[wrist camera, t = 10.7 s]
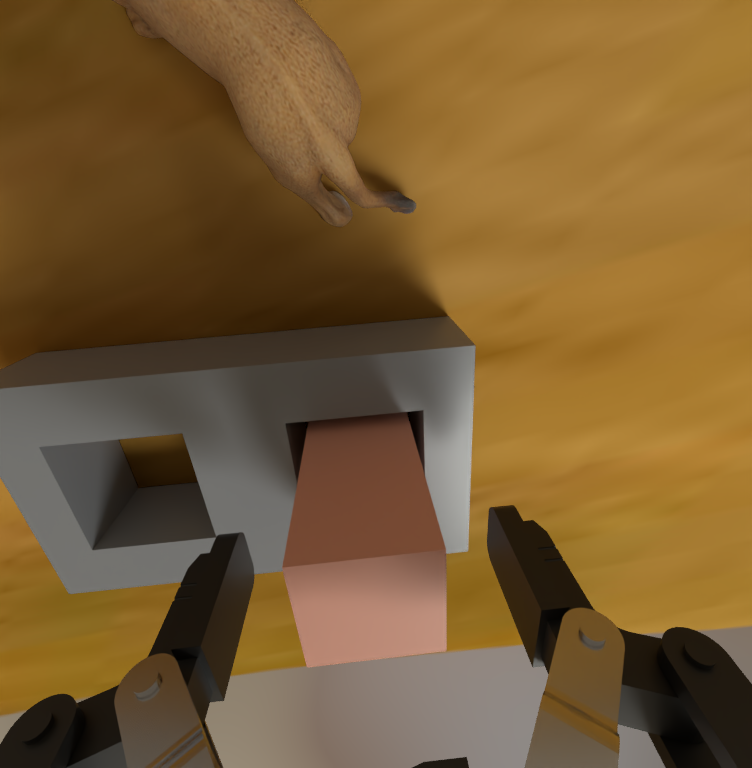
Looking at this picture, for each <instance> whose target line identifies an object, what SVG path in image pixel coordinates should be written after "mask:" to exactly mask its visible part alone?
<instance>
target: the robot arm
mask: <svg viewBox="0 0 752 768" xmlns="http://www.w3.org/2000/svg"><path fill="white" fill-rule="evenodd" d="M487 547H488V553H489V557H490V561H491V563H492V566H493V568H494V571H495V573H496V576H497V579H498V581H499V584H500V586H501V589H502V591H503V594H504V596H505V599H506V601H507V604H508V606H509V609H510V611H511V614H512V617H513V619H514V622H515V624H516V627H517V629H518V632H519V634H520V637H521V639H522V642H523V644H524V647H525V649H526V652H527V654H528V657H529V659H530V662H531V664H532V667H541V666H545V667H546V670H547V672H548V674H549V675H548V679H547V684H546V687H545V691H544V693H543V696H542V700H541V703H540V707H539V712H538V716H537V720H536V724H535V728H534V732H533V736H532V740H531V744H530V748H529V752H528V756H527V760H526V764H525V768H618V758H619V745H620V743H619V742H620V739H619V734H618V733H617V726H618V724H620V725H623V726H627V727H631V728H634V729H639V730H642V731H646V732H648V734H649V736H650V738H651V740H652V742H653V743H654V746H655V748H656V750H657V752H658V754H659V756H660V757H661V759H662V761H663V763H664V765H665V767H666V768H752V684H751V683H750V682H749V680H748V679H747V678H746V676H745V675H744V674H743V673H742V671H741V670H740V669H739V667H738V666H737V665H736V664H735V662H734V661H733V660H732V658H731V657H730V656H729V655H728V654H727V652H726V651H725V650H724V649H723V648H722V647H721V646H720V645H719V644H717V643H716V642H715V641H713V640H712V639H711V638H709V637H707V636H706V635H704V634H701V633H700V632H698V631H695V630H692V629H689V628H684V627H675V628H671V629H668V630H667V631H666V632H665V633H664V634H663V637H662V639H661V638H655V637H651V636H646V635H641V634H636V633H632V632H628V631H625V630H622V629H620V628H618V627H616V625H615V624H614V623H613V622H612V621H611V620H609V619H608V618H607V617H606V616H604V615H602V614H601V613H599V612H597V611H595V610H594V609H593V607H592V606H591V604H590V602H589V601H588V599H587V598H586V596H585V594H584V593H583V591H582V589H581V588H580V586H579V584H578V583H577V581H576V579H575V578H574V576H573V574H572V573H571V571H570V569H569V568H568V566H567V564H566V563H565V561H563V559H562V556H561V554H560V553H559V551H558V549H556V547H555V544H554V543H553V541H552V539H551V538H550V536H549V535H548V533H547V532H546V531H545V530H544V529H543V528H542V527H541V526H539V525H538V524H537V523H536V522H535V521H533V520H530V521H523V520H522V518H521V516H520V515H519V513H518V511H517V509H516V508H515V506H513V505H510V506H500V507H491V508H490V509H489V518H488V535H487ZM253 584H254V566H253V562H252V559H251V555H250V552H249V548H248V545H247V542H246V538H245V535H244V533H243V532H239V533H229V534H219V535H218V536H217V537H216V539H215V541H214V543H213V546H212V548H211V551H210V553H203V554H200V555H199V556H198V557H197V558H196V560H195V561H194V562H193V563H192V564H191V565H190V566H189V568H188V569H187V571H186V573H185V576H184V578H183V580H182V582H181V587H180V588H179V589H178V591H177V593H176V596H175V600H174V601H173V602H172V605H171V607H170V609H169V611H168V614H167V616H166V618H165V620H164V623H163V625H162V627H161V629H160V631H159V634H158V636H157V638H156V640H155V643H154V645H153V647H152V649H151V651H150V653H149V655H148V657H147V658H145V659H144V660H142V661H140V662H139V663H138V664H136V665H135V666H134V667H133V668H132V669H131V670H130V671H129V672H128V673H127V674H126V675H125V677H124V678H123V679H122V681H121V683H120V684H119V685H117V686H116V687H113V688H111V689H109V690H107V691H105V692H102V693H100V694H98V695H95V696H93V697H91V698H88V699H86V700H84V701H81V702H79V703H76V701H75V700H74V698H72V697H71V696H70V695H67V694H57V695H53V696H50V697H48V698H46V699H44V700H42V701H40V702H38V703H37V704H35V705H34V706H32V707H31V708H30V709H29V710H27V711H26V712H25V713H24V714H23V715H22V716H21V717H20V718H19V719H18V720H17V721H16V722H15V723H14V725H13V726H12V727H11V728H10V730H9V731H8V733H7V734H6V736H5V738H4V739H3V741H2V742H1V744H0V768H223V765H222V763H221V760H220V758H219V755H218V752H217V750H216V747H215V745H214V742H213V740H212V737H211V734H210V732H209V729H208V726H207V724H206V721H205V718H206V714H207V710H208V707H209V703H210V702H216V701H224V698H225V694H226V690H227V686H228V682H229V679H230V675H231V671H232V667H233V663H234V659H235V655H236V651H237V647H238V643H239V639H240V635H241V632H242V628H243V624H244V620H245V616H246V612H247V608H248V604H249V600H250V596H251V592H252V588H253ZM413 768H469V766H468V761H467V757H463V758H456V759H447V760H438V761H429V762H423V763H421V764H419V765H417V766H415V767H413Z"/></svg>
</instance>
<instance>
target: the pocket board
mask: <svg viewBox="0 0 752 768" xmlns="http://www.w3.org/2000/svg"><path fill="white" fill-rule="evenodd" d="M474 370H475V344H474V343H473V342H472V341H471V340H470V339H469V338H468V337H467V336H466V335H465V333H464V332H463V331H462V330H461V329H460V328H459V327H458V326H457V325H456V324H455V323H454V321H453V320H452V319H451V318H450V317H449V316H446V317H435V318H423V319H412V320H401V321H390V322H378V323H367V324H356V325H345V326H333V327H322V328H311V329H300V330H288V331H277V332H266V333H255V334H243V335H232V336H221V337H209V338H198V339H187V340H176V341H164V342H153V343H142V344H131V345H119V346H108V347H97V348H86V349H74V350H63V351H52V352H41V353H35V354H33V355H31V356H29V357H27V358H24V359H22V360H20V361H18V362H16V363H14V364H12V365H10V366H7V367H5V368H3V369H1V370H0V477H1V479H2V481H3V483H4V484H5V486H6V488H7V489H8V491H9V493H10V494H11V496H12V498H13V499H14V501H15V503H16V505H17V506H18V508H19V510H20V511H21V513H22V515H23V516H24V518H25V520H26V522H27V523H28V525H29V527H30V528H31V530H32V532H33V533H34V535H35V537H36V539H37V540H38V542H39V544H40V545H41V547H42V549H43V550H44V552H45V554H46V555H47V557H48V559H49V561H50V562H51V564H52V566H53V567H54V569H55V571H56V572H57V574H58V576H59V578H60V579H61V581H62V583H63V584H64V586H65V588H66V589H67V591H68V593H69V594H74V593H83V592H92V591H102V590H111V589H120V588H130V587H139V586H148V585H158V584H167V583H176V582H182V580H183V578H184V576H185V573H186V571H187V569H188V568H189V566H190V565H191V564H192V563H193V562H194V561H195V560H196V558H197V557H198V556H199V555H200V554H203V553H210V551H211V548H212V546H213V543H214V541H215V539H216V537H217V536H218V535H219V534H229V533H239V532H243V533H244V535H245V538H246V542H247V545H248V548H249V552H250V555H251V559H252V562H253V566H254V574H260V573H270V572H279V571H283V569H282V566H283V560H284V555H285V549H286V544H287V538H288V532H289V527H290V521H291V516H292V510H293V505H294V499H295V494H296V488H297V483H298V477H299V471H300V466H301V460H302V455H303V449H304V444H305V438H306V433H307V432H306V426H305V422H306V421H316V420H326V419H337V418H347V417H358V416H368V415H379V414H389V413H399V412H410V421H411V429H412V432H413V436H414V439H415V443H416V446H417V450H418V453H419V457H420V460H421V464H422V467H423V471H424V474H425V478H426V481H427V485H428V488H429V492H430V495H431V498H432V502H433V505H434V509H435V512H436V516H437V519H438V523H439V526H440V530H441V533H442V537H443V540H444V544H445V547H446V554H447V553H456V552H466V551H468V535H469V508H470V480H471V453H472V425H473V398H474ZM180 433H182V434H183V437H184V440H185V443H186V446H187V449H188V452H189V455H190V458H191V461H192V464H193V468H194V471H195V474H196V477H197V480H198V482H195V483H185V484H175V485H165V486H155V487H145V488H138V486H137V484H136V481H135V479H134V476H133V474H132V471H131V469H130V467H129V464H128V462H127V459H126V457H125V454H124V452H123V450H122V447H121V445H120V442H119V440H118V439H128V438H139V437H149V436H160V435H170V434H180Z"/></svg>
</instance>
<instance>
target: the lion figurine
mask: <svg viewBox="0 0 752 768" xmlns="http://www.w3.org/2000/svg"><path fill="white" fill-rule="evenodd" d="M113 1H114V2H116V3H117V4H119V5H122V6H124V7H126V8H127V10H126V12H127V15H128V17H129V19H130V20H131V22H132V25H133V27H134V30H135V31H136V32H137V33H138V34H139V35H141V36H144V37H148V38H161V37H163V38H164V39H165V40H167V41H168V42H169V43H170V44H172V45H173V46H174V47H175V48H176V49H178V50H179V51H180V52H181V53H182V54H184V55H185V56H186V57H187V58H189V59H190V60H191V61H192V62H193V63H195V64H196V65H197V66H198V67H199V68H201V69H202V70H203V71H204V72H206V73H207V74H208V75H210V76H211V77H212V78H214V79H215V80H217V81H218V82H219V83H221V84H223V85H224V87H225V89H226V91H227V93H228V95H229V98H230V100H231V102H232V105H233V107H234V109H235V111H236V114H237V116H238V119H239V121H240V124H241V126H242V129H243V132H244V134H245V136H246V138H247V140H248V141H249V142H250V144H251V145H252V147H253V148H254V150H255V151H256V152H257V154H258V155H259V156H260V157H261V158H262V160H263V161H264V162H265V163H266V165H267V166H268V168H269V170H270V171H271V173H272V175H273V176H274V178H275V179H276V180H277V181H278V182H279V183H280V184H281V185H283V186H284V187H286V188H288V189H290V190H291V191H293V192H294V193H295V194H297V195H298V196H299V197H301V198H302V199H304V200H305V201H306V202H308V203H309V204H310V205H311V206H312V207H314V208H315V209H316V210H317V211H318V212H319V213H320V215H321V217H322V219H323V220H325V221H326V222H327V223H329V224H331V225H333V226H337V227H342V226H344V225H346V224H347V223H348V222H349V221H350V220H351V219H352V216H353V214H352V210H351V208H350V206H349V204H348V202H347V201H346V200H345V198H344V197H343V196H342V195H340V194H339V193H337V192H335V191H330V192H328V191H327V190H326V189H325V188H324V186H323V184H322V182H321V176H322V174H324V175H326V176H327V177H328V178H329V179H330V180H331V181H333V182H334V183H335V184H336V185H337V186H338V187H339V188H340V189H341V190H342V191H343V192H344V193H345V194H346V196H347V197H348V198H350V199H351V200H352V201H353V202H354V203H356V204H357V205H359V206H361V207H363V208H374V207H388V208H390V209H391V210H392V211H393V212H402V213H404V214H408V213H412V212H413V211H414V210H415V208H416V203H415V202H414V201H413V200H411V199H409V198H407V197H405V196H403V195H402V194H401V193H399V192H397V191H387V192H378V191H371V190H369V189H367V188H366V187H365V185H364V183H363V181H362V179H361V177H360V175H359V173H358V172H357V170H356V167H355V164H354V161H353V158H352V156H351V154H350V152H349V150H348V146H349V144H350V143H351V142H352V141H353V139H354V138H355V135H356V131H357V126H358V120H359V115H360V110H361V95H360V90H359V87H358V85H357V82H356V80H355V78H354V76H353V74H352V72H351V70H350V68H349V66H348V64H347V62H346V60H345V58H344V56H343V54H342V53H341V51H340V50H339V48H338V47H337V45H336V44H335V43H334V42H333V41H332V40H331V39H330V38H329V37H328V36H326V35H325V34H324V32H323V31H322V30H321V29H320V28H319V26H318V25H317V24H316V23H315V22H314V20H313V19H312V18H311V17H310V16H309V15H308V14H307V13H306V12H305V11H304V10H303V9H302V8H301V7H300V6H299V5H298V4H297V3H296V2H295V1H293V0H113Z"/></svg>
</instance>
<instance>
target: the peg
mask: <svg viewBox="0 0 752 768" xmlns="http://www.w3.org/2000/svg"><path fill="white" fill-rule="evenodd" d="M282 569H283V573H284V577H285V581H286V585H287V589H288V593H289V597H290V601H291V605H292V609H293V613H294V617H295V621H296V625H297V629H298V633H299V637H300V641H301V645H302V649H303V653H304V657H305V661H306V665H307V667H315V666H323V665H332V664H340V663H349V662H357V661H366V660H374V659H382V658H391V657H399V656H408V655H416V654H425V653H433V652H442V651H446V547H445V544H444V540H443V537H442V533H441V530H440V526H439V523H438V519H437V516H436V512H435V509H434V505H433V502H432V498H431V495H430V492H429V488H428V485H427V481H426V478H425V474H424V471H423V467H422V464H421V460H420V457H419V453H418V450H417V446H416V443H415V439H414V436H413V432H412V429H411V425H410V422H409V419H408V415H407V412H399V413H389V414H379V415H368V416H358V417H347V418H337V419H326V420H316V421H309V422H308V427H307V433H306V438H305V444H304V449H303V455H302V460H301V466H300V471H299V477H298V483H297V488H296V494H295V499H294V505H293V510H292V516H291V521H290V527H289V532H288V538H287V544H286V549H285V555H284V560H283V566H282Z"/></svg>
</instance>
